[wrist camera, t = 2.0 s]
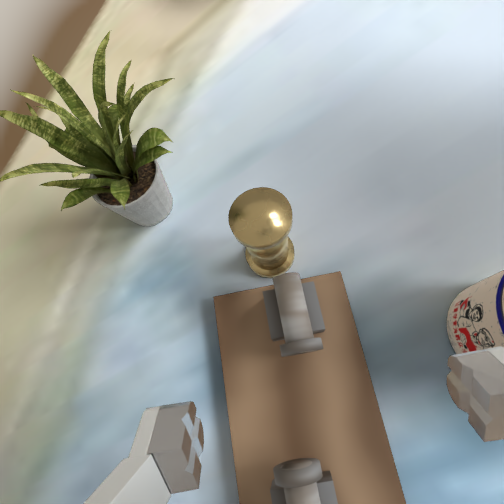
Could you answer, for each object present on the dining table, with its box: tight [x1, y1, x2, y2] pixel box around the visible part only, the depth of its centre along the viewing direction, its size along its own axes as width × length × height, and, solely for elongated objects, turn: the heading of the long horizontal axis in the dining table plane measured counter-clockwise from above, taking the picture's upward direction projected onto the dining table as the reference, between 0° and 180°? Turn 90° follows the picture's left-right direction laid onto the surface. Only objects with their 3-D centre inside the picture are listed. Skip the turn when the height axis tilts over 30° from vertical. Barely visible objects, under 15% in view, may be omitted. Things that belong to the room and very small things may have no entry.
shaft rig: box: [214, 271, 406, 504], centre depth 24 cm, size 12×20×7 cm, turn 9°
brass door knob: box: [229, 187, 294, 278], centre depth 28 cm, size 5×5×9 cm
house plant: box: [0, 31, 175, 226], centre depth 29 cm, size 14×14×16 cm
